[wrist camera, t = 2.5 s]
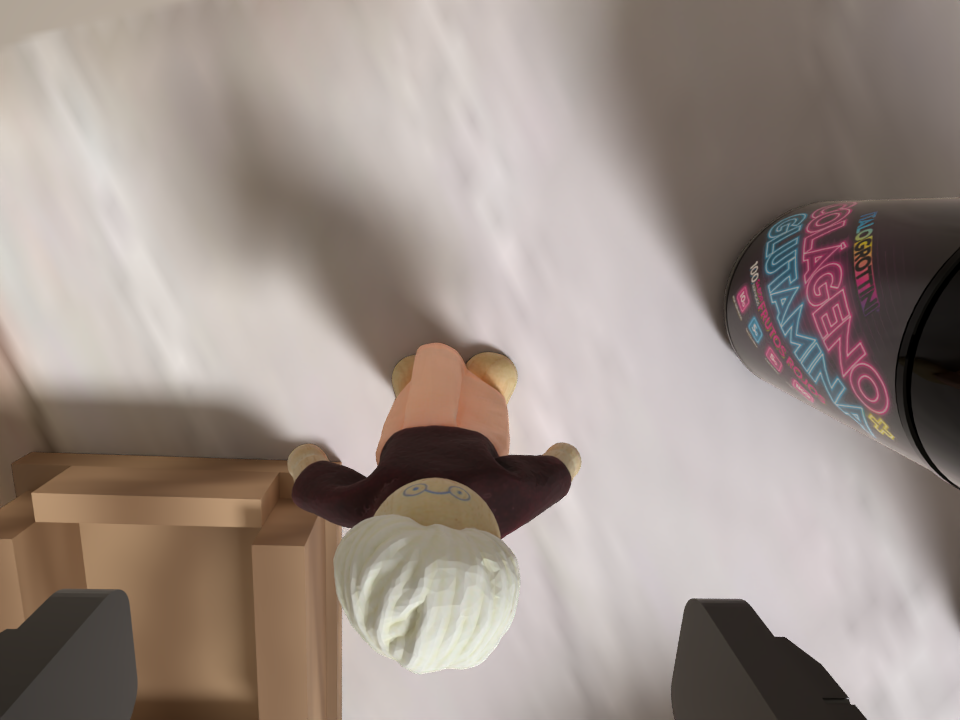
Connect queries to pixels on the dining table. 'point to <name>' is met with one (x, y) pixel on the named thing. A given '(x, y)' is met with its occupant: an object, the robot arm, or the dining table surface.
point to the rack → (187, 577)
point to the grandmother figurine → (435, 512)
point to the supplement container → (860, 319)
